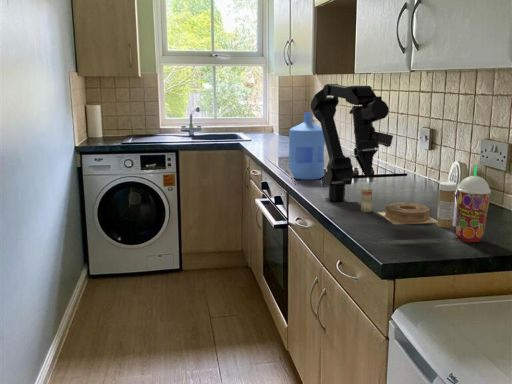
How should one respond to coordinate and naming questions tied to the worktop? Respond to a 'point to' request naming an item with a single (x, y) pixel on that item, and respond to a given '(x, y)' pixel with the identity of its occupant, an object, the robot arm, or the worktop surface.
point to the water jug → (306, 150)
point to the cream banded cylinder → (366, 199)
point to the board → (405, 222)
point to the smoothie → (472, 208)
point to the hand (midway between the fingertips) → (368, 175)
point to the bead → (407, 212)
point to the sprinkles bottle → (446, 204)
